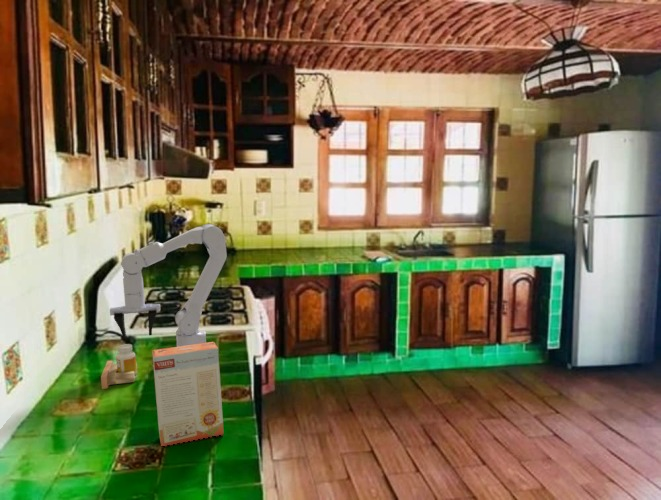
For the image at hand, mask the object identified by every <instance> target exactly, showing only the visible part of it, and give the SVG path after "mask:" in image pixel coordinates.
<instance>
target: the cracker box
mask: <svg viewBox="0 0 661 500" xmlns="http://www.w3.org/2000/svg"><path fill="white" fill-rule="evenodd" d="M151 353H152V364H153V377H154V389H155V390H154V391H155V400H156V401H155V402H156V411H157V413H156V415H157V424H158V433H159V441H160V446H165V447H168V446H167V445H170V446H173V444H175V445H178V444H177V443H180V444H183V442H185V443H188V441H190V442H194V441H193V440H195V441H199V440H198V439H200V440H204V439H203V438H205V439H208V437H210V438H213V437H212V436H216V437H220V436H219V435H221V436H224V435H223V434H224V433H225V432H224V420H223V419H224V417H223V404H222V403H223V402H222V389H221V373H220V360H219V359H220V358H219V348H218V346H217V344H216V343H215V341H209V342H206V343H201V344H193V345H186V346H179V347H177V346H175V347H165V348H158V349H152V351H151Z"/></svg>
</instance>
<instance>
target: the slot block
mask: <svg viewBox="0 0 661 500" xmlns="http://www.w3.org/2000/svg"><path fill="white" fill-rule="evenodd" d="M136 367H137V368H138V363H137V361H136ZM135 380H136V378H135V375H134V371H131V372H121V373H117V363H113V364H112V366H111V369H110V371H109V374H108V385H109V386H110V385H117V384H128V383H134V382H135Z"/></svg>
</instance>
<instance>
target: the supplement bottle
mask: <svg viewBox="0 0 661 500" xmlns="http://www.w3.org/2000/svg"><path fill="white" fill-rule="evenodd" d="M117 352H118V353H117V354H116V356H115V360H116V364H117V373H121V372H131V371H134V375H135V379H136V378H137V377H138V366H137V367H136V362H137V357H136V352H135V351H133V344H131V343H125V344H120V345H118V346H117Z"/></svg>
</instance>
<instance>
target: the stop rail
mask: <svg viewBox="0 0 661 500" xmlns="http://www.w3.org/2000/svg"><path fill="white" fill-rule="evenodd" d="M113 362H114V360H107V361H106V364H105V365H104V368H103V370H102V373H101V375H100V382H101V389H102V390H105V389H109V386H110V385H108V374H109V371H110V369H111V366H112V364H114V363H113Z"/></svg>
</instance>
